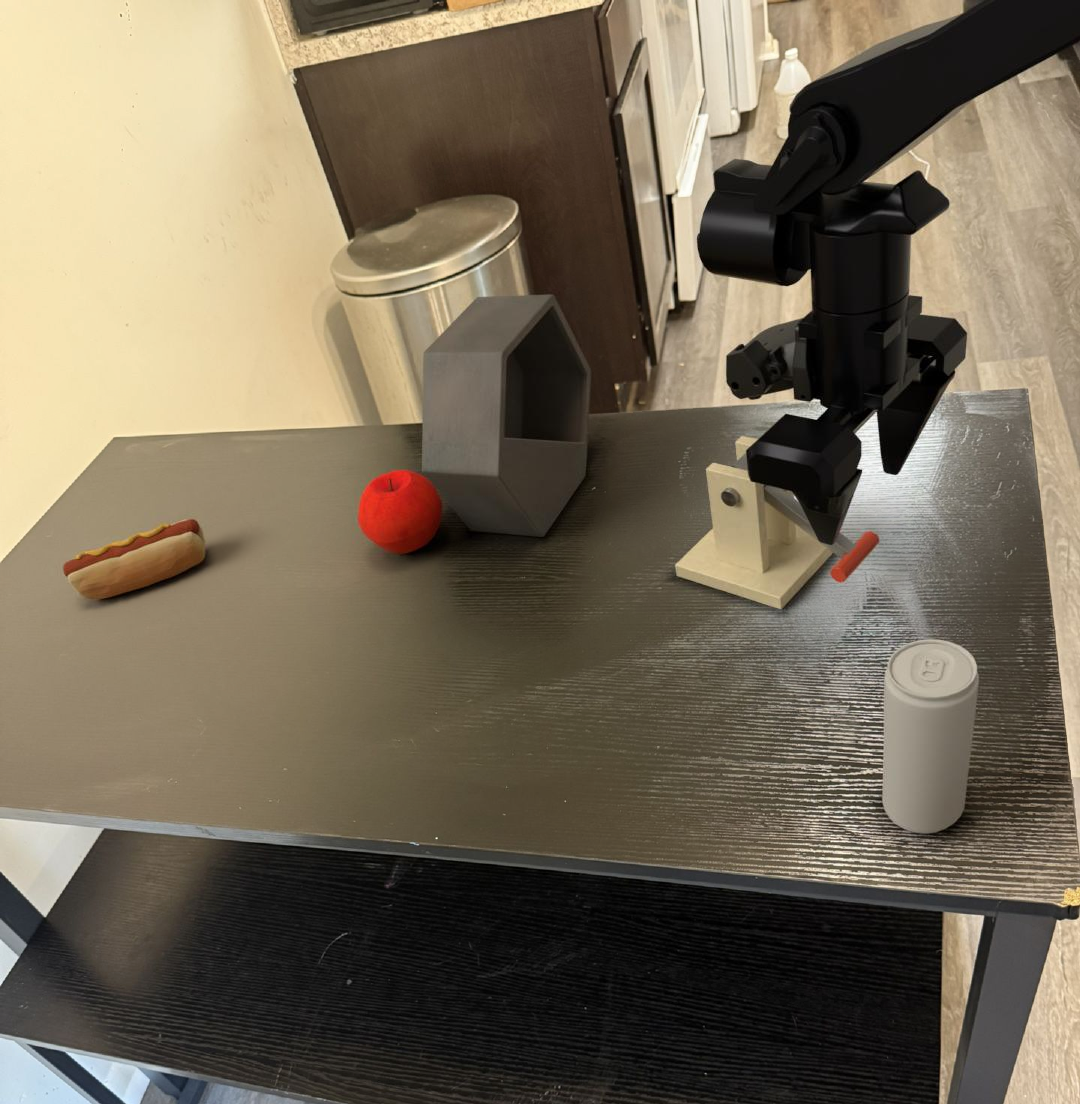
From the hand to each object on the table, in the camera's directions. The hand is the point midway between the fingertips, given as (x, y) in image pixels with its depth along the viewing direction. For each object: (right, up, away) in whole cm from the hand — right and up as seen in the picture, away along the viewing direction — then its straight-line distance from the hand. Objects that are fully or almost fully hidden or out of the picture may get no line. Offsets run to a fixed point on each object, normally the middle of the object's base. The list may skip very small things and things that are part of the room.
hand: (860, 506), depth 72 cm
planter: (-24, +6, +25) cm, 35 cm away
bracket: (-5, -2, +11) cm, 12 cm away
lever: (-4, 0, +5) cm, 6 cm away
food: (-63, -1, +31) cm, 70 cm away
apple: (-35, +1, +24) cm, 43 cm away
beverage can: (+1, -21, -10) cm, 23 cm away
